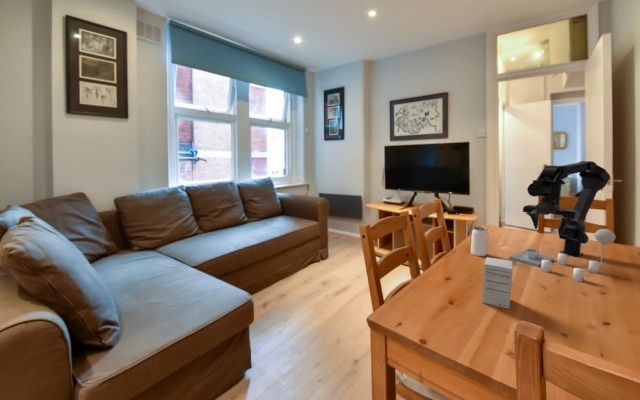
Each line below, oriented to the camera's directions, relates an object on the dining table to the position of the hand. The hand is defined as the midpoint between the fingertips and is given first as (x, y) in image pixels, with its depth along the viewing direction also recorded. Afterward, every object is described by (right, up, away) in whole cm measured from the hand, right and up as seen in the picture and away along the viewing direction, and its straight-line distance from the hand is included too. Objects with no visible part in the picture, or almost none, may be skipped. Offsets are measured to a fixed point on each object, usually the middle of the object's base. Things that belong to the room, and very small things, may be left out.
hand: (548, 230), depth 126 cm
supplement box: (-44, -18, -35) cm, 59 cm away
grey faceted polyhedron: (-8, -11, -1) cm, 14 cm away
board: (-8, -12, -1) cm, 14 cm away
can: (-26, -12, +7) cm, 30 cm away
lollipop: (+15, -13, -8) cm, 22 cm away
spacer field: (-2, -14, -13) cm, 20 cm away
